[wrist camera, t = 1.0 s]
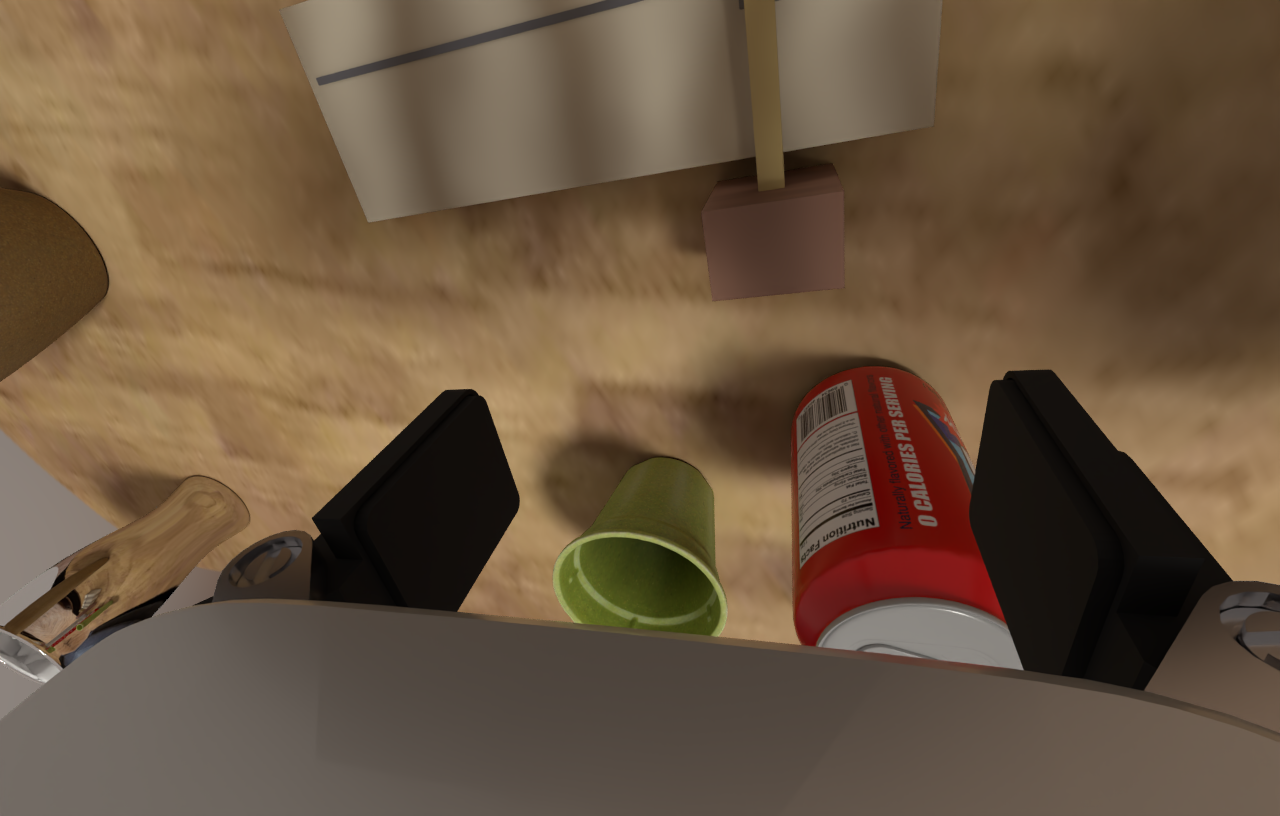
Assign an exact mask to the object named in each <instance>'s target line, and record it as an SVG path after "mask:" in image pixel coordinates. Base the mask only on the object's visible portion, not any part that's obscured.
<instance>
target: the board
mask: <svg viewBox="0 0 1280 816" xmlns="http://www.w3.org/2000/svg"><path fill="white" fill-rule="evenodd" d="M279 11H280V14H281V16H282V18H283V21H284V23H285V26H286V28H287V30H288V33H289V35H290V37H291V40H292V42H293V45H294V47H295V49H296V52H297V54H298V57H299V59H300V61H301V64H302V66H303V68H304V71H305V73H306V76H307V78H308V80H309V83H310V85H311V87H312V90H313V92H314V95H315V97H316V99H317V102H318V104H319V107H320V109H321V111H322V114H323V116H324V118H325V121H326V123H327V126H328V128H329V130H330V133H331V135H332V137H333V140H334V142H335V145H336V147H337V149H338V152H339V154H340V157H341V159H342V161H343V164H344V166H345V168H346V171H347V173H348V176H349V178H350V180H351V183H352V185H353V188H354V190H355V192H356V195H357V197H358V199H359V202H360V204H361V207H362V209H363V211H364V214H365V216H366V218H367V221H368V223H369V222H375V221H381V220H387V219H393V218H398V217H404V216H410V215H416V214H422V213H428V212H434V211H440V210H445V209H451V208H457V207H463V206H469V205H475V204H481V203H487V202H492V201H498V200H504V199H510V198H516V197H522V196H528V195H534V194H539V193H545V192H551V191H557V190H563V189H569V188H575V187H581V186H586V185H592V184H598V183H604V182H610V181H616V180H622V179H628V178H633V177H639V176H645V175H651V174H657V173H663V172H669V171H675V170H680V169H686V168H692V167H698V166H704V165H710V164H716V163H722V162H727V161H733V160H739V159H745V158H751V157H756V153H755V140H754V127H753V114H752V101H751V88H750V75H749V62H748V49H747V36H746V23H745V10H744V9H743V10H740V9H739V0H308V1H305V2H302V3H299V4H296V5H293V6H290V7H287V8H283V9H280V10H279ZM775 11H776V30H777V48H778V66H779V85H780V103H781V122H782V140H783V152H786V151H792V150H798V149H804V148H810V147H816V146H821V145H827V144H833V143H839V142H845V141H851V140H857V139H863V138H868V137H874V136H880V135H886V134H892V133H898V132H904V131H910V130H915V129H921V128H927V127H933V126H934V117H935V103H936V88H937V74H938V59H939V44H940V30H941V15H942V0H779V1H775Z"/></svg>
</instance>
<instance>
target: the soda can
mask: <svg viewBox="0 0 1280 816" xmlns="http://www.w3.org/2000/svg"><path fill="white" fill-rule="evenodd" d="M975 471H976V470H975V468H974V465H973V463H972V461H971V459H970V457H969V454H968V452H967V450H966V448H965V446H964V443H963V441H962V439H961V437H960V435H959V432H958V430H957V428H956V426H955V424H954V421H953V419H952V417H951V415H950V413H949V411H948V409H947V407H946V405H945V403H944V401H943V400H942V398H941V397H940V395H939V394H938V393H937V392H936V391H935V389H934V388H933V387H932V386H930V385H929V384H928V383H927V382H925V381H924V380H923V379H921V378H919V377H918V376H916V375H914V374H911V373H909V372H906V371H903V370H900V369H896V368H891V367H882V366H867V367H859V368H853V369H849V370H846V371H842V372H840V373H837V374H835V375H832V376H830V377H828V378H827V379H825V380H823V381H822V382H820V383H819V384H817V385H816V386H815V387H814V388H812V389H811V390H810V391H809V392H808V393H807V394H806V396H805V397H804V398H803V399H802V401H801V402H800V404H799V406H798V408H797V410H796V412H795V415H794V418H793V422H792V428H791V498H792V598H793V620H794V626H795V630H796V634H797V636H798V639H799V641H800V643H801V645H805V646H814V647H824V648H834V649H844V650H854V651H864V652H874V653H883V654H891V655H900V656H908V657H917V658H926V659H935V660H944V661H952V662H961V663H970V664H978V665H987V666H995V667H1003V668H1012V669H1018V670H1024V669H1023V667H1022V664H1021V661H1020V659H1019V656H1018V653H1017V651H1016V648H1015V645H1014V643H1013V640H1012V637H1011V634H1010V632H1009V629H1008V626H1007V624H1006V621H1005V618H1004V616H1003V613H1002V610H1001V607H1000V605H999V602H998V599H997V597H996V594H995V591H994V589H993V586H992V583H991V580H990V578H989V575H988V572H987V570H986V567H985V564H984V562H983V559H982V556H981V553H980V551H979V548H978V545H977V543H976V540H975V537H974V535H973V532H972V529H971V526H970V520H969V505H970V500H971V494H972V488H973V482H974V476H975Z"/></svg>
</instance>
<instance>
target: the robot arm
mask: <svg viewBox="0 0 1280 816" xmlns="http://www.w3.org/2000/svg"><path fill="white" fill-rule="evenodd" d="M519 503H520V498H519V493H518V490H517V488H516V485H515V482H514V479H513V476H512V473H511V471H510V468H509V465H508V462H507V459H506V456H505V454H504V451H503V448H502V445H501V442H500V439H499V436H498V434H497V431H496V428H495V425H494V422H493V419H492V417H491V414H490V411H489V408H488V405H487V403H486V400H485V399H484V398H483V397H482V396H479V395H478V393H477V392H476V391H475V390H472V389H460V390H445V391H444V392H442V393H441V394H440V395H439V396H438V397H437V398H436V399H435V400H434V401H433V402H432V403H431V404H430V405H429V406H428V407H427V408H426V409H425V410H424V411H423V412H422V413H421V414H419V415H418V416H417V417H416V418H415V419H414V420H413V421H412V422H411V423H410V424H409V425H408V426H407V427H406V428H405V429H404V430H403V431H402V432H401V433H400V434H399V435H398V436H397V437H396V438H395V439H394V440H392V441H391V442H390V443H389V444H388V445H387V446H386V447H385V448H384V449H383V450H382V451H381V452H380V453H379V454H378V455H377V456H376V457H375V458H374V459H373V460H372V461H371V462H370V463H369V464H368V465H367V466H365V467H364V468H363V469H362V470H361V471H360V472H359V473H358V474H357V475H356V476H355V477H354V478H353V479H352V480H351V481H350V482H349V483H348V484H347V485H346V486H345V487H344V488H343V489H342V490H341V491H340V492H339V493H337V494H336V495H335V496H334V497H333V498H332V499H331V500H330V501H329V502H328V503H327V504H326V505H325V506H324V507H323V508H322V509H321V510H320V511H319V512H318V513H317V514H316V515H315V516H314V517H313V518H312V520H313V521H314V523H315V525H316V526H317V528H318V529H319V531H320V533H321V534H320V535H319V536H318V537H317V538H316V539H315V540H313V539H312V537H311V535H309V534H308V533H306V532H305V531H299V530H292V531H284V532H281V533H278V534H274V535H271V536H269V537H267V538H264V539H262V540H260V541H258V542H256V543H254V544H253V545H251V546H250V547H248V548H246V549H245V550H243V551H242V552H241V553H240V554H238V555H237V556H236V557H235V558H233V559H232V560H231V561H230V562H229V564H228V565H227V566H226V567H225V568H224V569H223V570H222V573H221V575H220V577H219V579H218V581H217V585H216V589H215V592H214V596H213V597H210V598H208V599H206V600H204V601H202V602H200V603H197V604H195V605H193V606H191V607H186V608H183V609H179V610H175V611H171V612H167V613H163V614H160V615H157V616H154V617H151V618H148V619H145V620H143V621H140V622H138V623H135V624H133V625H130V626H128V627H125V628H123V629H121V630H119V631H117V632H115V633H113V634H111V635H110V636H108V637H106V638H105V639H103V640H101V641H100V642H99V643H97V644H96V645H94V646H93V647H92V648H90V649H89V650H87V651H86V652H85V653H83V654H82V655H81V656H80V657H78V658H77V659H76V660H74V661H73V662H72V663H71V664H69V665H68V666H67V667H65V668H64V669H63V670H62V671H60V672H59V673H58V674H56V675H55V676H54V677H52V678H51V679H50V680H49V681H47V682H46V683H45V684H44V685H42V686H41V687H40V688H39V689H37V690H36V691H35V692H34V693H32V694H31V695H30V696H29V697H28V698H26V699H25V700H24V701H23V702H21V703H20V704H19V705H18V706H17V707H15V708H14V709H13V710H12V711H10V712H9V713H8V714H7V715H6V716H4V717H3V718H2V719H1V720H0V816H1280V585H1276V584H1270V583H1265V582H1259V581H1233V580H1232V579H1231V578H1230V577H1229V575H1228V574H1227V573H1226V572H1225V571H1224V569H1223V568H1222V567H1221V566H1220V565H1219V563H1218V562H1217V561H1216V560H1215V559H1214V557H1213V556H1212V555H1211V554H1210V553H1209V551H1208V550H1207V549H1206V548H1205V547H1204V545H1203V544H1202V543H1201V542H1200V540H1199V539H1198V538H1197V537H1196V536H1195V534H1194V533H1193V532H1192V531H1191V530H1190V528H1189V527H1188V526H1187V525H1186V524H1185V522H1184V521H1183V520H1182V519H1181V518H1180V516H1179V515H1178V514H1177V513H1176V512H1175V510H1174V509H1173V508H1172V507H1171V506H1170V504H1169V503H1168V502H1167V501H1166V499H1165V498H1164V497H1163V496H1162V495H1161V493H1160V492H1159V491H1158V490H1157V489H1156V487H1155V486H1154V485H1153V484H1152V483H1151V481H1150V480H1149V479H1148V478H1147V477H1146V475H1145V474H1144V473H1143V472H1142V471H1141V469H1140V468H1139V467H1138V466H1137V465H1136V463H1135V462H1134V461H1133V460H1132V459H1131V458H1130V457H1129V456H1128V455H1127V454H1126V453H1124V452H1121V451H1118V450H1117V449H1116V448H1115V447H1114V446H1113V444H1112V443H1111V442H1110V441H1109V439H1108V438H1107V437H1106V436H1105V434H1104V433H1103V432H1102V431H1101V430H1100V428H1099V427H1098V426H1097V425H1096V423H1095V422H1094V421H1093V420H1092V418H1091V417H1090V416H1089V415H1088V413H1087V412H1086V411H1085V410H1084V409H1083V407H1082V406H1081V405H1080V404H1079V402H1078V401H1077V400H1076V399H1075V397H1074V396H1073V395H1072V394H1071V393H1070V391H1069V390H1068V389H1067V388H1066V386H1065V385H1064V384H1063V383H1062V381H1061V380H1060V379H1059V378H1058V376H1057V375H1056V374H1055V373H1054V372H1053V371H1052V370H1023V371H1008V372H1007V373H1006V374H1005V376H1004V378H1003V380H994V381H993V382H992V384H991V386H990V390H989V396H988V401H987V407H986V413H985V419H984V425H983V430H982V436H981V442H980V448H979V453H978V459H977V465H976V471H975V476H974V482H973V488H972V494H971V500H970V505H969V520H970V526H971V529H972V532H973V535H974V537H975V540H976V543H977V545H978V548H979V551H980V553H981V556H982V559H983V562H984V564H985V567H986V570H987V572H988V575H989V578H990V580H991V583H992V586H993V589H994V591H995V594H996V597H997V599H998V602H999V605H1000V607H1001V610H1002V613H1003V616H1004V618H1005V621H1006V624H1007V626H1008V629H1009V632H1010V634H1011V637H1012V640H1013V643H1014V645H1015V648H1016V651H1017V653H1018V656H1019V659H1020V661H1021V664H1022V667H1023V669H1024V670H1018V669H1012V668H1003V667H995V666H987V665H978V664H970V663H961V662H952V661H944V660H935V659H926V658H917V657H908V656H900V655H891V654H883V653H874V652H864V651H854V650H844V649H834V648H824V647H814V646H805V645H795V644H785V643H775V642H765V641H755V640H745V639H735V638H726V637H716V636H706V635H696V634H686V633H675V632H665V631H655V630H644V629H634V628H624V627H613V626H603V625H592V624H582V623H571V622H561V621H550V620H540V619H529V618H518V617H508V616H496V615H485V614H474V613H463V612H457V611H458V609H459V607H460V606H461V604H462V603H463V601H464V599H465V598H466V596H467V594H468V593H469V591H470V589H471V588H472V586H473V584H474V583H475V581H476V579H477V578H478V576H479V574H480V573H481V571H482V569H483V568H484V566H485V564H486V563H487V561H488V560H489V558H490V556H491V555H492V553H493V551H494V550H495V548H496V546H497V545H498V543H499V541H500V540H501V538H502V536H503V535H504V533H505V531H506V530H507V528H508V526H509V525H510V523H511V521H512V520H513V518H514V517H515V515H516V513H517V511H518V509H519Z"/></svg>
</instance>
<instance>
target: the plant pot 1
mask: <svg viewBox="0 0 1280 816" xmlns="http://www.w3.org/2000/svg"><path fill="white" fill-rule="evenodd" d="M107 285H108V280H107V274H106V270H105V267H104V264H103V261H102V259H101V256H100V254H99V253H98V251H97V249H96V247H95V246H94V244H93V243H92V241H91V240H90V238H89V237H88V236H87V234H86V233H85V232H84V231H83V229H82V228H81V227H80V226H79V225H78V224H77V223H76V222H75V221H74V220H73V219H72V218H71V217H70V216H69V215H68V214H67V213H65V212H64V211H63V210H62V209H61V208H59V207H58V206H56V205H55V204H53V203H52V202H50V201H48V200H47V199H45V198H43V197H41V196H38V195H36V194H33V193H30V192H24V191H18V190H11V189H4V188H0V381H2V380H3V379H5V378H6V377H8V376H9V375H11V374H12V373H13V372H15V371H16V370H18V369H19V368H20V367H22V366H23V365H24V364H26V363H27V362H28V361H30V360H31V359H32V358H34V357H35V356H36V355H38V354H39V353H40V352H41V351H43V350H44V349H45V348H47V347H48V346H49V345H50V344H52V343H53V342H54V341H55V340H57V339H58V338H59V337H60V336H61V335H63V334H64V333H65V332H66V331H67V330H68V329H70V328H71V327H72V326H73V325H74V324H76V323H77V322H78V321H79V320H80V319H81V318H82V317H83V316H84V315H85V314H87V313H88V312H89V311H90V310H91V309H92V308H93V307H94V306H95V305H96V304H97V303H98V302H99V301H100V300H101V299H102V298H103V297H104V296H105V294H106V291H107Z"/></svg>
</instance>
